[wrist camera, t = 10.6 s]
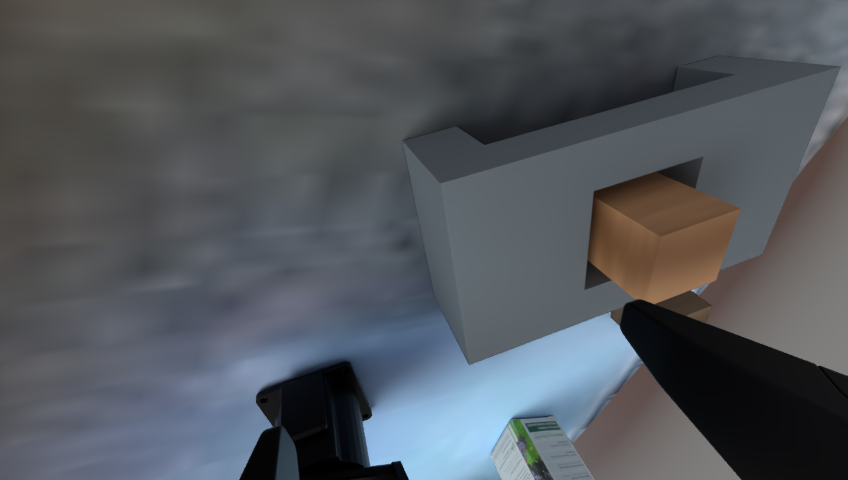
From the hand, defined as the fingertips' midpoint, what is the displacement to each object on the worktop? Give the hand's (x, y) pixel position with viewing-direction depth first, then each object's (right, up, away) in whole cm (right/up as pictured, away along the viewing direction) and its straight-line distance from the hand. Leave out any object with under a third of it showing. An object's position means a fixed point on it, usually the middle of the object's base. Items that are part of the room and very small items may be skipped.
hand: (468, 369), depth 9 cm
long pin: (+8, +7, +15) cm, 18 cm away
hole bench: (+8, +7, +15) cm, 18 cm away
